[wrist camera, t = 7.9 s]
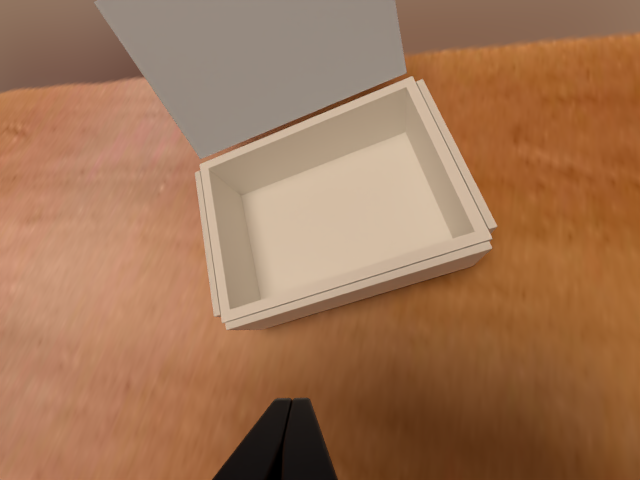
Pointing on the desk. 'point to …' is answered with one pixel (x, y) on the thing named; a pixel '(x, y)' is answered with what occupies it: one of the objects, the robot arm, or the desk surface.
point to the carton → (339, 210)
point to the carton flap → (255, 59)
